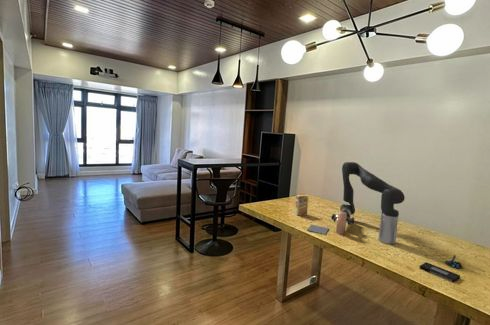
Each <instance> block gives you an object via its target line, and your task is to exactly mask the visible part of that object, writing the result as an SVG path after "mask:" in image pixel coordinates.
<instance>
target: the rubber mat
mask: <svg viewBox="0 0 490 325" xmlns="http://www.w3.org/2000/svg"><path fill="white" fill-rule="evenodd" d="M329 230H330V228H328V227H324V226H319V225H315V224H310V226H309V227H308V228H307V229H306V231H307V232H310V233H315V234H320V235H325V236H326V234H327V233H328V231H329Z"/></svg>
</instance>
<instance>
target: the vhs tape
mask: <svg viewBox="0 0 490 325" xmlns="http://www.w3.org/2000/svg"><path fill="white" fill-rule="evenodd" d="M419 270H421V271H425V272H427V273H430V274H432V275H434V276H436V277H438V278H441V279H444V280H446V281H448V282H450V283H452V284H454V283H455V282H457V281H459V280H460V279H461V275H460V274H457V273H456V272H453V271H450V270H447V269H444V268H442V267H440V266H437V265H435V264H432V263H429V262H424V263H421V264H420V265H419Z"/></svg>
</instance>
